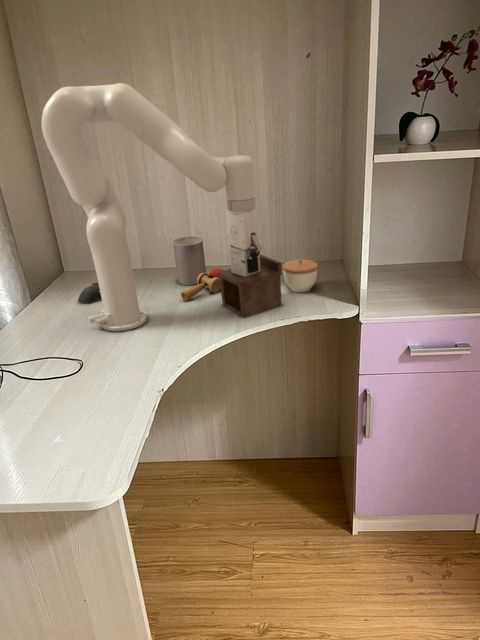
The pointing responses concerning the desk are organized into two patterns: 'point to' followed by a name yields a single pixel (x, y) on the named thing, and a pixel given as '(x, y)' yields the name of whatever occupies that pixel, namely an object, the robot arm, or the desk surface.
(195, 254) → the pillar candle
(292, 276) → the trinket box
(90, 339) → the desk surface
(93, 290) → the computer mouse
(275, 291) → the shelf
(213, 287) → the kendama
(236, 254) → the white cardboard box
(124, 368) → the desk surface
